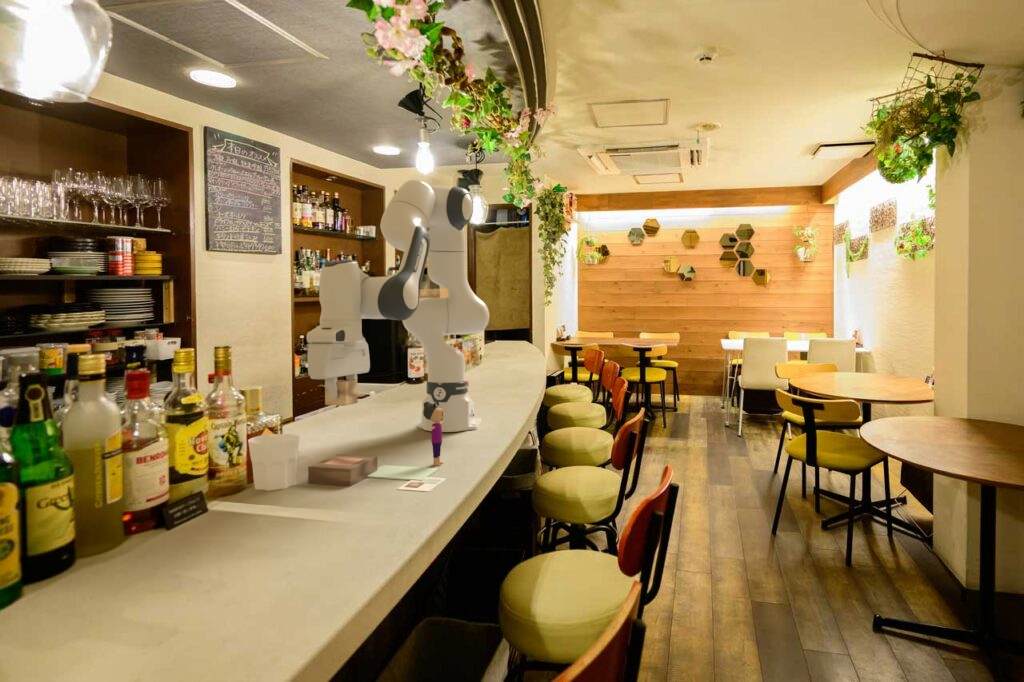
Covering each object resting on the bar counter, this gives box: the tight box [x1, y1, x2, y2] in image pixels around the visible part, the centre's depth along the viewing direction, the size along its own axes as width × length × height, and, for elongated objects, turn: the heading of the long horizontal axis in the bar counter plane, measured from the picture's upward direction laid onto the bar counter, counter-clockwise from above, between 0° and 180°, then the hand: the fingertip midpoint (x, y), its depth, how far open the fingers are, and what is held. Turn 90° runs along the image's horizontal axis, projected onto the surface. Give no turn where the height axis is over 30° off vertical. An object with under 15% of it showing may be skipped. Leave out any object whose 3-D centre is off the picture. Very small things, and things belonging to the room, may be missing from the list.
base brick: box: [307, 453, 378, 487], centre depth 134 cm, size 12×10×4 cm
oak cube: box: [324, 379, 359, 407], centre depth 134 cm, size 5×5×5 cm
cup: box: [247, 433, 300, 492], centre depth 128 cm, size 10×10×10 cm
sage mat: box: [367, 464, 440, 481], centre depth 137 cm, size 10×14×1 cm
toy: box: [423, 402, 444, 467], centre depth 145 cm, size 10×6×15 cm, turn 168°
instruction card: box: [397, 476, 447, 493], centre depth 129 cm, size 10×7×1 cm
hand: (341, 396), depth 134 cm, fingers closed on oak cube, 5 cm apart
